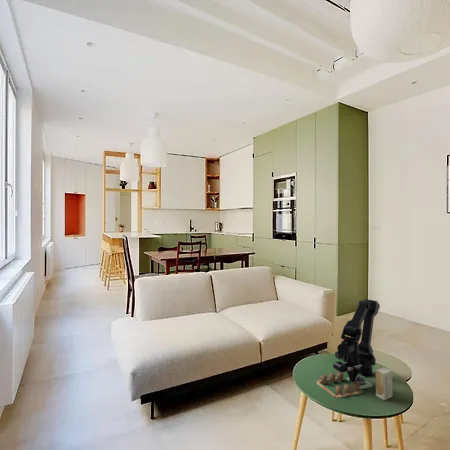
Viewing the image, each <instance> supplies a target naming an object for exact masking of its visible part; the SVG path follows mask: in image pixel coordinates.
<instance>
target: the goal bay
mask: <svg viewBox="0 0 450 450" xmlns="http://www.w3.org/2000/svg"><path fill="white" fill-rule="evenodd" d="M346 381H348V382H351V381H350V379H349V377H347V378H346ZM372 387H373V384H372V383H370V382H369V381H367V380H365V385H361V386H360V390H363V389H367V388H372Z"/></svg>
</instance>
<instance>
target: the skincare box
mask: <svg viewBox="0 0 450 450" xmlns="http://www.w3.org/2000/svg"><path fill="white" fill-rule="evenodd" d="M375 396H376V397H377V398H380V399H381V400H383V401H385V400H388V399H391V398H392V397H393V370H391V369H390V368H387V367H386V366H382V367H379V368H377V369H375Z"/></svg>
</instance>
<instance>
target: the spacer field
mask: <svg viewBox="0 0 450 450" xmlns="http://www.w3.org/2000/svg"><path fill="white" fill-rule="evenodd" d="M336 381H338V382H344V372H339V371H337V372H336V374H335V373H332V372H330V373H328V375H327V374H321V375H320V379H319V380H316V381H315V382H316V384H317V385H318V386H319V387H321V388H322V389H323V390H324V391H326V392H327V393H328V394H330V395H331V396H332V397H333V398H336V399H340V398H345V397H350V396H355V395H358V394H363V392H364V391H363V390H361V389H360V384H359V383H357V382H353V384H352V385H351V384H349V383H345V384H344V385H343V386H341V385H336V386H335V393H333V392H332V391H331V390H330V389H329V388H327V387H325V385H328V382H329V383H331V384H335V383H336ZM343 387H344V391H343ZM343 392H344V393H343Z"/></svg>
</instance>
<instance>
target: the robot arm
mask: <svg viewBox="0 0 450 450" xmlns="http://www.w3.org/2000/svg"><path fill="white" fill-rule="evenodd" d="M380 307H381V304H380V303H379V302H378V300H373V299H368V298H367V299H366V298H365V299H363V300H359V301H358V306H357V308H356V311H355V313H354V314H353V316H352V318H351V319H350V320H348V321H347V322H346V324H345V325H344V326H343V328H342V332H341V336H340V339H341V343H339V344H338V345H337V351H335V353H334V356H335V359H337V360H339V361H335V362H333V363H332V365H333V367H332V368H333V369H335V370H337V372H342V373H347V375H348V378H349V379H350V381H349V382H350V383H351V382H354V380H355V379H356V377H357V376H359V374H360V376H363V377H365V378H368V377H373V376H374V377H375V376H376V373H373V366H376V361H377V359H376V356H375V355H374V349H373V348H372V345H371V343H372V342H371V341H372V335H373V326H374V319H375V317H376V315H378V313H379V310H380ZM360 339H361V340H360ZM359 341H360V342H359ZM341 360H342V361H341Z"/></svg>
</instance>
